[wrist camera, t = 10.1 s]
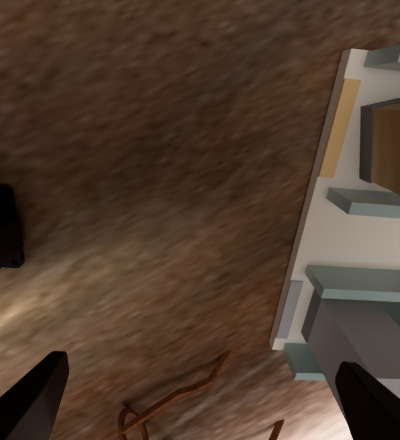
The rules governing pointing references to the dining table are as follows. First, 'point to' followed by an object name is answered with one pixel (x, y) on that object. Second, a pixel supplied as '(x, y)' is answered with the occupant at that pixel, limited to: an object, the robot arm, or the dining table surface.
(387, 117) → the amber plug block
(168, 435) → the dining table surface
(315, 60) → the dining table surface
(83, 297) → the dining table surface
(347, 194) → the slot rack
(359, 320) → the grey plug block
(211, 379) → the glasses
